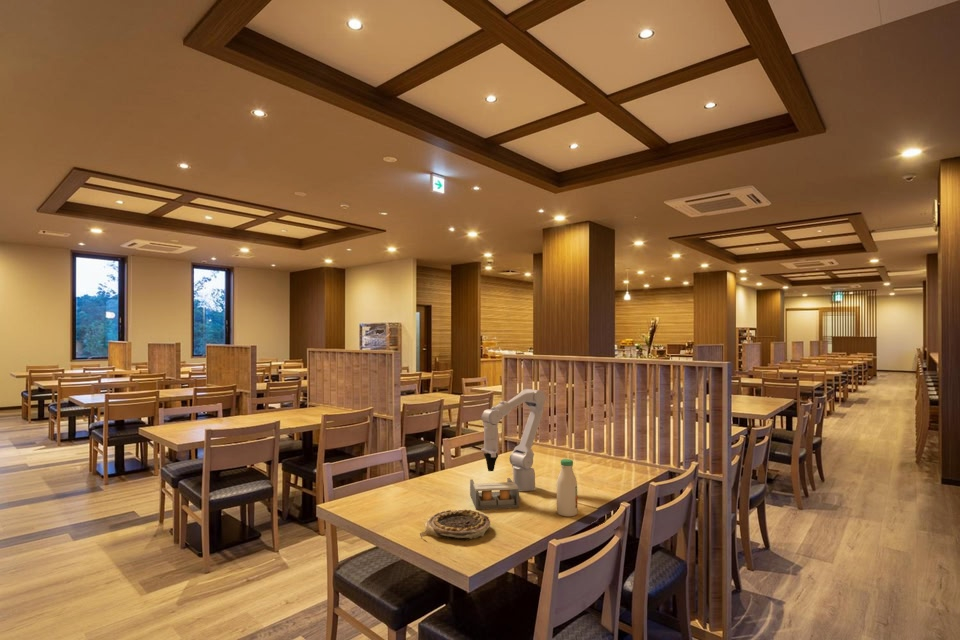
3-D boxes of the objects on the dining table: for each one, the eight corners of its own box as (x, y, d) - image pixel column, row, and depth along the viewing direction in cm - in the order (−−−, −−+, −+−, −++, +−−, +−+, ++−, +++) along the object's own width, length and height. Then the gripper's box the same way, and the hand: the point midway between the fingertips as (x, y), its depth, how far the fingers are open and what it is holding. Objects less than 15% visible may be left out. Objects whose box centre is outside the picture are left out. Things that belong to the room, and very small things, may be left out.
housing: (509, 493, 213) (509, 477, 214) (519, 507, 195) (519, 490, 196) (470, 495, 211) (470, 479, 211) (476, 509, 193) (476, 492, 193)
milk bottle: (572, 518, 184) (572, 463, 184) (553, 514, 188) (553, 460, 189) (580, 512, 190) (580, 459, 191) (561, 508, 194) (561, 456, 195)
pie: (478, 513, 190) (478, 500, 190) (515, 540, 166) (515, 525, 166) (407, 526, 177) (407, 512, 178) (436, 557, 153) (437, 540, 153)
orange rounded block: (508, 500, 202) (508, 487, 202) (510, 503, 198) (510, 490, 198) (498, 500, 201) (498, 487, 201) (500, 503, 197) (500, 490, 197)
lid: (514, 484, 204) (514, 481, 204) (518, 489, 197) (518, 486, 197) (473, 485, 202) (473, 483, 202) (475, 491, 195) (475, 488, 195)
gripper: (478, 435, 218) (478, 466, 217) (484, 442, 203) (484, 475, 203) (494, 434, 219) (494, 466, 218) (501, 441, 204) (501, 475, 204)
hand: (490, 470), depth 210 cm, fingers closed
